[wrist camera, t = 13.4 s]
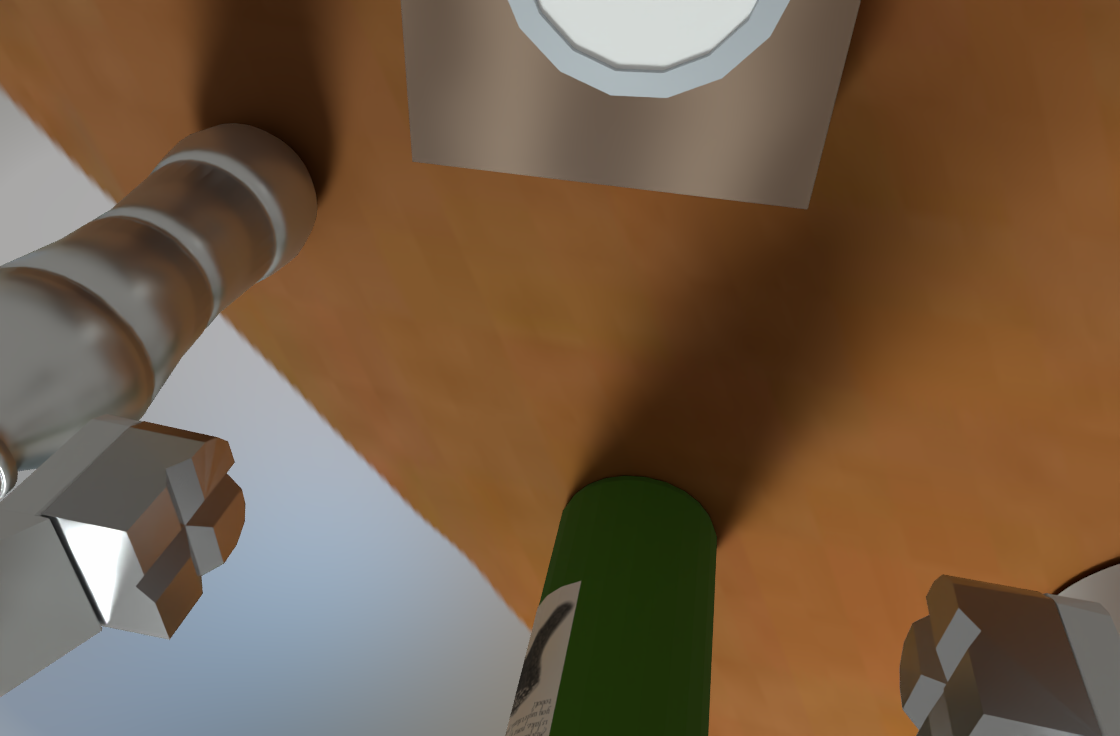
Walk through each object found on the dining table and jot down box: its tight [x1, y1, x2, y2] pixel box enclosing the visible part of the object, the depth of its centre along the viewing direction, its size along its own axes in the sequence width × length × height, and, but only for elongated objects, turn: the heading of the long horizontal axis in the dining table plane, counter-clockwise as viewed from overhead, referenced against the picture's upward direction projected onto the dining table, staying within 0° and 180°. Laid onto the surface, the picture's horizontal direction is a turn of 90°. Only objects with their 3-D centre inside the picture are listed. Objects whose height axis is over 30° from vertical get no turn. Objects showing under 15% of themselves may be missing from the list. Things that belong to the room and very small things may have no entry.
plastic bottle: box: [0, 123, 317, 500], centre depth 28 cm, size 6×7×20 cm
